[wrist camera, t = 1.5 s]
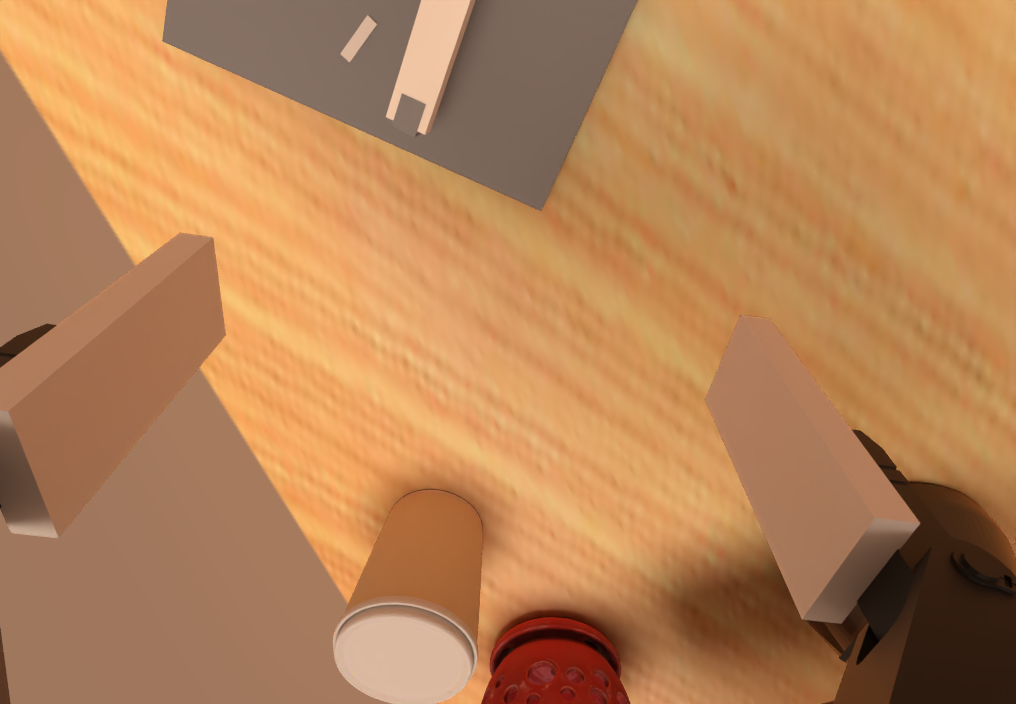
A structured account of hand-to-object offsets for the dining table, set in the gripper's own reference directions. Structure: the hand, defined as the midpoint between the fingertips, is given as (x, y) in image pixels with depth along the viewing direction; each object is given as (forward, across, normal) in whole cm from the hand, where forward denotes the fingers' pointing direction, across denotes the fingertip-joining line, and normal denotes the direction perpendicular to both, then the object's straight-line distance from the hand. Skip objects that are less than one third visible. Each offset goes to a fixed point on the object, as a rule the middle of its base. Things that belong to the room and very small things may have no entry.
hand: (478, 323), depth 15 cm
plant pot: (+18, -12, +43) cm, 48 cm away
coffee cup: (+19, +1, +30) cm, 36 cm away
